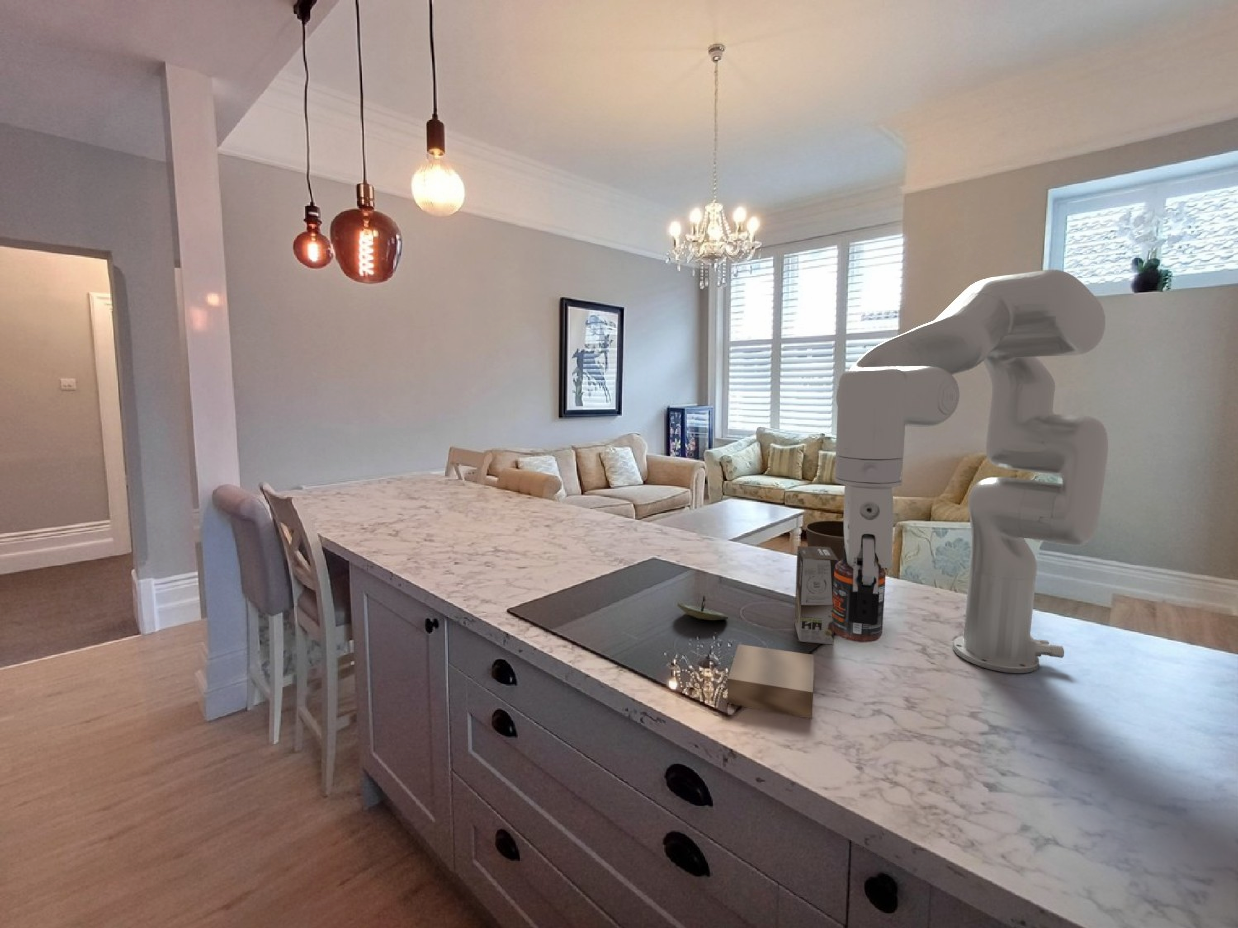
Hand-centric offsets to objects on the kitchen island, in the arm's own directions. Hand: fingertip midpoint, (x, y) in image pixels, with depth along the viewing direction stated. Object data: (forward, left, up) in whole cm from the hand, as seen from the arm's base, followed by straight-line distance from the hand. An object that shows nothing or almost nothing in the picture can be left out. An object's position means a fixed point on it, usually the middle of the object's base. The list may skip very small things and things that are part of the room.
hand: (860, 610), depth 72 cm
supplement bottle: (0, 0, -3) cm, 3 cm away
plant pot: (0, -57, -19) cm, 60 cm away
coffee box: (+5, -36, -19) cm, 41 cm away
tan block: (+11, -12, -19) cm, 25 cm away
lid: (+26, -35, -19) cm, 48 cm away
